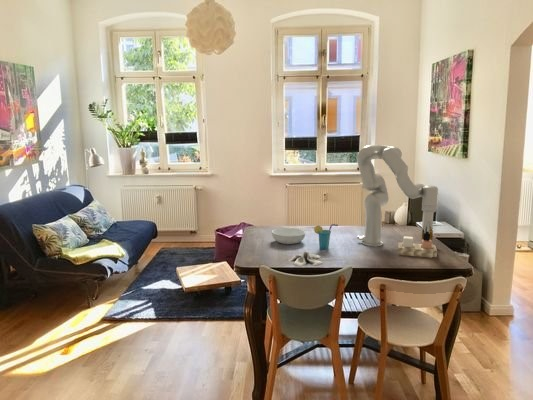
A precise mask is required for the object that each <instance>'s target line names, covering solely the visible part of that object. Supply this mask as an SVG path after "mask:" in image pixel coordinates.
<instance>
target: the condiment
mask: <svg viewBox="0 0 533 400" xmlns="http://www.w3.org/2000/svg"><path fill="white" fill-rule="evenodd" d="M433 233H434V230H433V225H432V229H430V240H431V241H432V242H433V237H434V236H433V235H434V234H433ZM423 235H424V229H423V228H422V230H421V242H420V243H418V244H422V240H423ZM432 245H434V244H433V243H432Z"/></svg>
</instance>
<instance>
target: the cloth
mask: <svg viewBox="0 0 533 400" xmlns="http://www.w3.org/2000/svg"><path fill="white" fill-rule="evenodd" d="M320 257H321V256H320V255H318V254H311V253H310V252H309V251H308V250H305V251H304V252H303V253H302V254H295V255H294V256H292V257H291V258H290V259H288V262H293V261H294V263H293V265H295V266H298V267H303V266H305V265H307V263H310V264H311V265H312V266H313V265H315V266H318V265H321V263H322V261H321V260H318V259H320ZM322 264H323V263H322Z"/></svg>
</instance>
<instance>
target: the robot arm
mask: <svg viewBox="0 0 533 400" xmlns="http://www.w3.org/2000/svg"><path fill="white" fill-rule="evenodd" d="M402 156H403V153H402V150H401V149H400V148H399V147H397V146H390V145H382V144H369V145H365V146H364V147H362V148H360V149H359V151H358V153H357V156H356V161H357V165H358V169H359V172H360V178H361V181H362V186H363V188H364V190H366V191H368V192H370V191H371V193H369V194H368V195H366V197H365V200H364V206H365V207H364V208H365V220H364V221H365V222H364V223H365V225H364V227H365V228H364V235H357V240H361V243H362V244H363V245H365V246H369V247H380V246H383V245H384V242H383V241H382V239H381V238H382V219H383V216H382V215H383V212H382V207H383V206H385V205H387V204H388V202H389V193H388V188H387V185H386V181H385V178H384V177H383V176H382V175H381V174H378V173H376V171H375V167H374V165H373V163H372V160H378V159H379V160H383V162H384V163H385V164H386V165H387V167H388V168H389V169H390V171H391V172H392V173H393V175H394V176H395V179H396V183H397V184H398V187H399V188H400V190H401V191H402V192H403V194H404V195H405V196H406V197H407V198H408V199H413V200H414V199H418V198H422V199H421V211H422V220H421V228H422V230H423V229H424V235H423V240H427V241H429V240H430V229H432V228H433V227H432V226H433V223H434V213H436V212H437V207H438V206H437V205H438V204H437V203H438V194H439V193H438V192H439V188H438V187H437V186H435V185H426V184H421V183H415V184H414V182H413V181H412V179H410V177H409V173H408V171H409V167H408V166H409V165H407V163H406V162H405V161H404V160H403V159H402ZM432 230H433V229H432Z"/></svg>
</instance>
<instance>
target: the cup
mask: <svg viewBox="0 0 533 400" xmlns="http://www.w3.org/2000/svg"><path fill="white" fill-rule="evenodd" d="M332 226H335V227H338V226H339V225H338V224H336V223H331V224H330V227H329V229H323V226H321V225H316V226H315V227H314V229H313V231H314V233H315V234H317V235H318V243H319V244H318V245H319V247H318V248H319V250H321V251H328V250H329V249H330V248H329V247H330V240H331V239H330V238H331V232H332V231H331V230H332Z"/></svg>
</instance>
